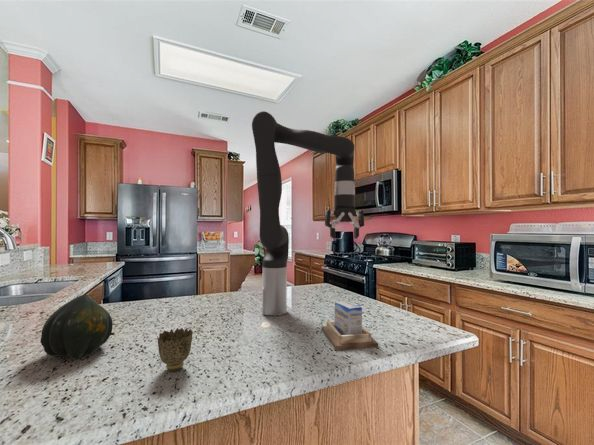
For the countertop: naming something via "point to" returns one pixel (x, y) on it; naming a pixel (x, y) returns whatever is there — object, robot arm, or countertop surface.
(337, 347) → the holder
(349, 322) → the medicine box
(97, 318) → the squash
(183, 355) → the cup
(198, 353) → the countertop surface
